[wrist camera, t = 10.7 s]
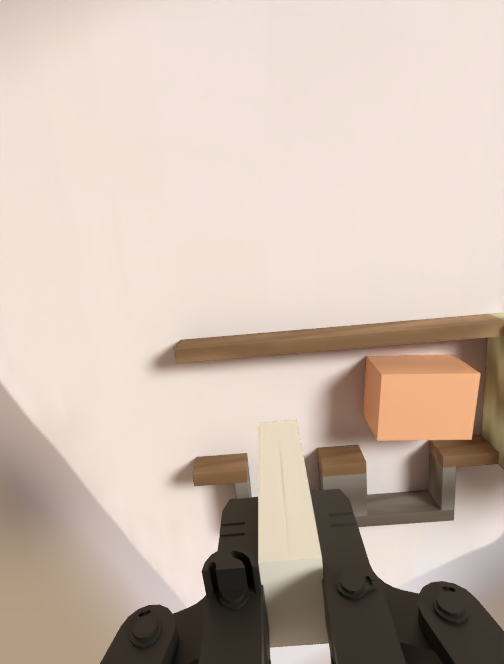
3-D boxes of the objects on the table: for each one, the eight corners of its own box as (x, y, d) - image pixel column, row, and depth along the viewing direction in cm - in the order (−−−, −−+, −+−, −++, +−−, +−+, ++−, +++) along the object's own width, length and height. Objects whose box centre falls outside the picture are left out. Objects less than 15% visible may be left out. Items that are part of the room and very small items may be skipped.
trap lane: (180, 339, 38) (172, 353, 34) (502, 312, 37) (531, 323, 33) (205, 516, 43) (200, 545, 39) (489, 496, 42) (513, 524, 38)
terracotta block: (365, 355, 38) (381, 374, 34) (452, 354, 38) (480, 373, 34) (362, 414, 40) (377, 440, 35) (445, 413, 40) (471, 439, 35)
